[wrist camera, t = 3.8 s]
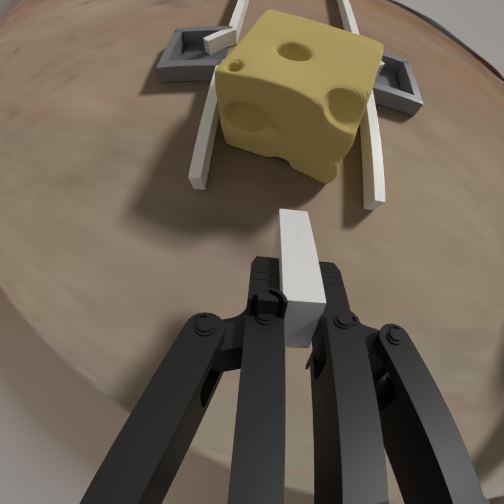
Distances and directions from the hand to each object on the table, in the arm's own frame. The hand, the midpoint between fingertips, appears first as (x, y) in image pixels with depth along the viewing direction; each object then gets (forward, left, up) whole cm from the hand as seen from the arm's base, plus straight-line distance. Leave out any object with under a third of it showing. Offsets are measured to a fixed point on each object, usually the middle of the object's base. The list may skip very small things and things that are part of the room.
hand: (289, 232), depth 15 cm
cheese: (0, -13, -8) cm, 15 cm away
